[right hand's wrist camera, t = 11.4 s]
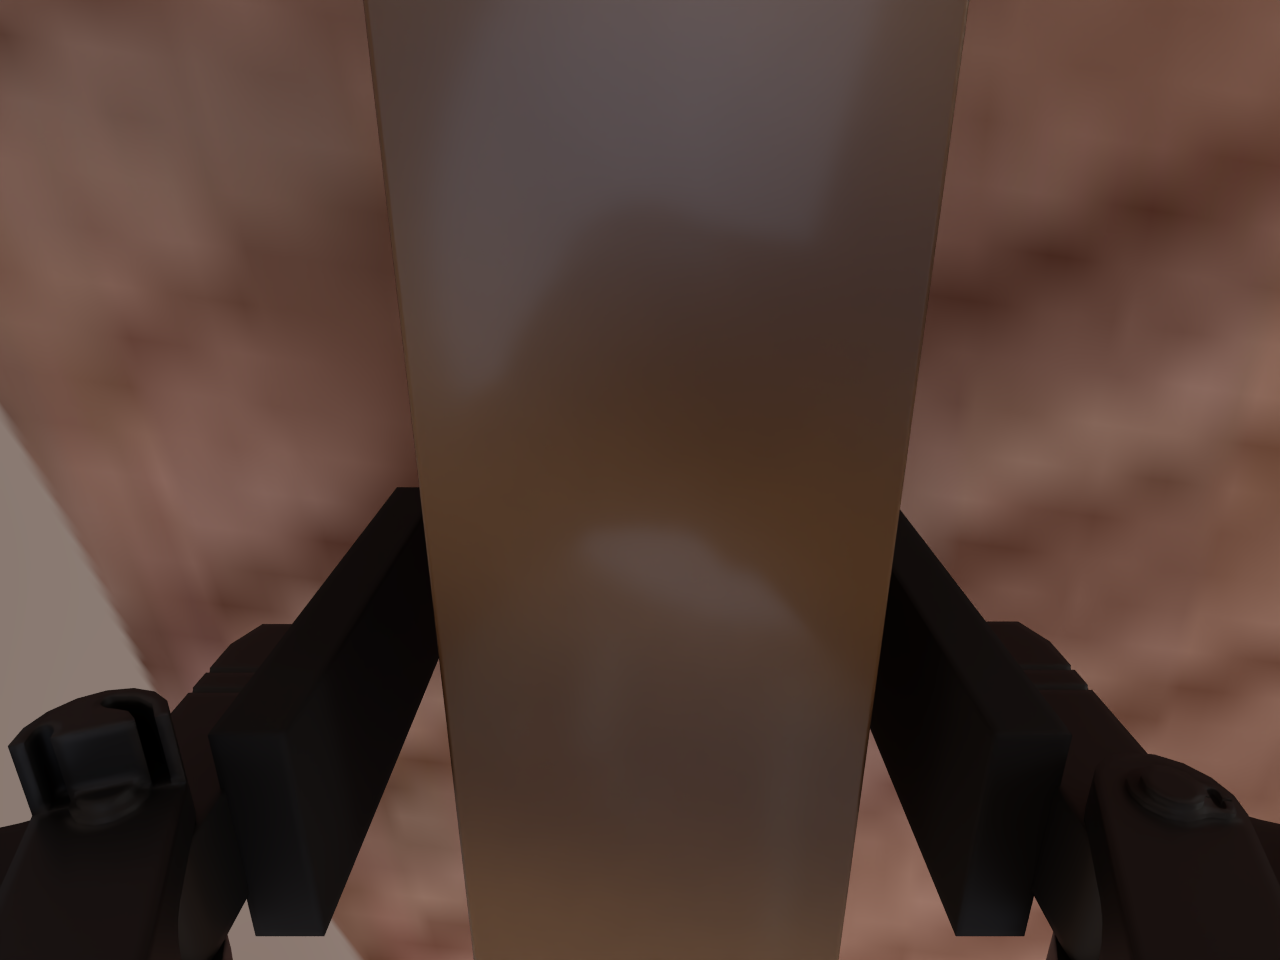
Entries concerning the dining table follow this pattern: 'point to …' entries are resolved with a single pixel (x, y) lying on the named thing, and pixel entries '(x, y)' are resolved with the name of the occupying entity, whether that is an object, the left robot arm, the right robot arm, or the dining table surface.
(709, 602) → the post
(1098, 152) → the dining table surface
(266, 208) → the dining table surface
